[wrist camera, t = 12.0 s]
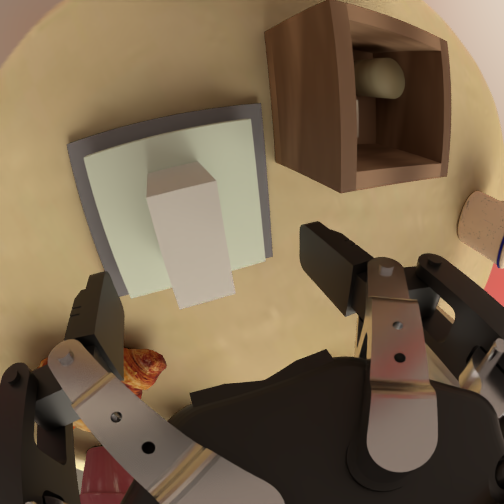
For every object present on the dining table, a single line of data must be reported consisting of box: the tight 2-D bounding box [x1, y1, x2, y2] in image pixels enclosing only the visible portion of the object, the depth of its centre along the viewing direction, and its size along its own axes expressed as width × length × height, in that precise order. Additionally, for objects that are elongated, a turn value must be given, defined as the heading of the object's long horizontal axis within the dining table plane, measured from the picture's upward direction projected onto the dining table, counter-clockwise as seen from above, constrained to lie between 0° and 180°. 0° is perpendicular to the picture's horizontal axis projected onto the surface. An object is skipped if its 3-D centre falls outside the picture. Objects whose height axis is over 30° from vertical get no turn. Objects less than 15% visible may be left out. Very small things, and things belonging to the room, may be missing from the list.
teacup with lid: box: [458, 191, 504, 268], centre depth 29 cm, size 12×9×12 cm
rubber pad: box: [67, 103, 273, 297], centre depth 19 cm, size 13×12×1 cm
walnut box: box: [264, 0, 451, 193], centre depth 15 cm, size 10×10×8 cm
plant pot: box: [79, 446, 134, 504], centre depth 27 cm, size 14×14×13 cm
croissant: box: [37, 348, 167, 432], centre depth 21 cm, size 21×10×8 cm, turn 111°
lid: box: [84, 119, 266, 309], centre depth 16 cm, size 10×10×7 cm
